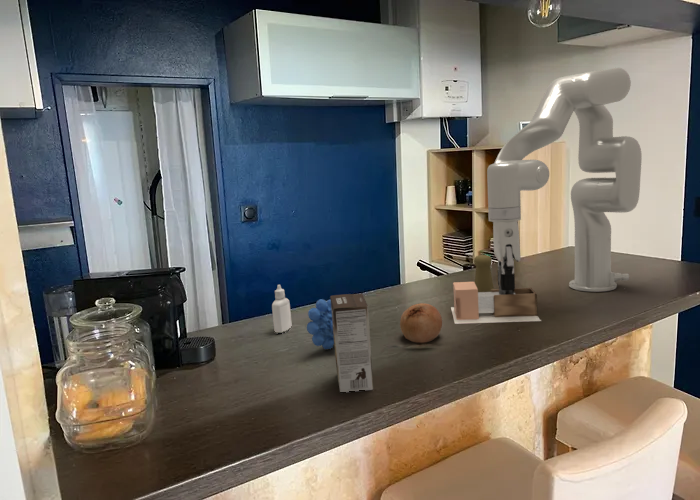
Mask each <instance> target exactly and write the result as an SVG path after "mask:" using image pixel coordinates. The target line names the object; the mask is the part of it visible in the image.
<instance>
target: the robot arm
mask: <svg viewBox="0 0 700 500" xmlns="http://www.w3.org/2000/svg"><path fill="white" fill-rule="evenodd" d="M631 82H632V81H631V77H630V75H629V73H628V72H627V70H626V69H624V68H622V67H613V68H607V69H602V70H592V71H585V72H582V73H576V74H575V73H574V74H571V75H570V74H569V75H565V76H560V77H558V78H555V79H553V80H552V81H551V82H550V83H549V84H548V86H547V88H546V89H545V92H544V94H543V96H542V98H541V100H540V102H539V103H538V105H537V108H536V110H535V112H534V114H533V116H532V118H531V120H530V122H529V123H527V124H526V125H525V126H524V127H522V128H521V129H520V130H519V131H517V132H516V133H515V134H514V135H512V137H511V138H509V140H507V142H506V143H505V144H504V145H502V148H501V149H500V151H499V153H498V154H497V157H495V158H496V159H495V161H494V163H492V164H489V165H488V167H487V169H486V170H487V171H486V174H487V182H486V183H487V204H488V205H487V207H488V210H487V211H488V215H487V216H488V222H492V224H493V226H492V228H493V229H492V233H493V235H492V236H493V238H492V239H493V251H494V253H493V254H494V256H495V258H496V259H497V267H498V266H499V265H501V266H502V274H501V290H514V289H515V288H516V286H515V285H516V284H515V282H516V280H515V278H516V276H515V263H514V260H515V261H516V262H520V261H521V259H522V257H521V245H520V244H521V243H520V241H521V240H520V230H519V229H520V228H519V223H518V221H521V220H522V215H521V213H522V211H521V210H522V209H521V207H522V206H521V191H523V192H525V191H527V192H528V191H538V190H540V189H543V187H544V186H546V184H547V183H548V181H549V179H550V170H549V167H548V165H547V164H546V163H545V162H544V161H541V160H539V159H525V158H526V157H527V156H528V155H529V154H532V153H533V152H535V151H538V150H540V149H542V148H544V147H546V146H549V145H551V144H552V143H554V142H556V141H557V140H559V139H560V138H561V137H562V136H563V134H564V132H565V130H566V128H567V125H568V123H569V121H570V119H571V117H572V115H573V113H574V114H575V115H576V118H577V119H578V120H577V121H578V126H579V127H578V128H579V129H578V130H579V131H578V132H579V133H578V135H579V136H578V153H577V154H578V156H577V157H578V159H577V160H578V166H579V169H581V171H583V172H585V173H589V174H600V173H601V174H605V173H615V177H587V178H583V179H579V180H578V181H576V182H575V183H574V184H573V185H572V187H571V190H570V202H571V205H572V206H571V207H572V211H573V218H574V279H572V280H570V281H569V283H568V286H569V287H570V288H571V289H573V290H576V291H581V292H589V293H590V292H592V293H596V292H597V293H600V292H609V291H613V290H616V289H617V286H618V284H617V282H618V281H629V280H630V275H629V273H621V272H614V271H612V270H611V269H612V267H611V266H612V251H611V250H612V225H611V223H610V219H608V217H607V215H606V214H605V213H616V214H617V213H621V214H624V213H629V212H632V211H633V210H634V209H635V208H636V207H637V205H638V203H639V199H640V193H641V192H640V189H641V174H642V149H641V146H640V144H639V141H638V140H637V139H636V138H635V137H631V136H627V135H625V136H623V135H622V136H614V120H613V116H612V114H611V112H610V110H609V109H608V108H607V107H606V106H605V105H609V104H613V103H617V102H621V101H622V100H624V99H625V98H626V97H627V96H628V94H629V92H630V90H631V86H632V85H631ZM504 264H507V265H505V266H504ZM497 285H498V286H499V274H498V273H497Z"/></svg>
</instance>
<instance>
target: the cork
mask: <svg viewBox="0 0 700 500" xmlns="http://www.w3.org/2000/svg"><path fill="white" fill-rule="evenodd" d="M492 263H493V259H492V257H491V256H489V255H486V254H479V255H476V256H475V257H474V259H473V264H474V266H475V274H474V275H475V276H474V282H475V284H476V287H477V289H478V292H491V289H495V288H494V282H493V275H492V270H491V266H492Z"/></svg>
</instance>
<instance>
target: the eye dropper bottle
mask: <svg viewBox="0 0 700 500" xmlns="http://www.w3.org/2000/svg"><path fill="white" fill-rule="evenodd" d="M274 298H275V300H274V301H273V302H272V304H271V310H272V320H273V322H272V323H273V329H274V331H275V332H283V331H286V330H288V329H289V328H291V326H292V327H293V324H292V313H291V304H290V300H289V299H288V298H287V297H286V294H285V289H284V288H282V286H281V284H277V288H276V290H274ZM291 329H292V328H291ZM275 332H274V333H275Z"/></svg>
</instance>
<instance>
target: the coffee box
mask: <svg viewBox="0 0 700 500" xmlns="http://www.w3.org/2000/svg"><path fill="white" fill-rule="evenodd" d="M329 298H330V299H331V311H332V323H333V335H334V345H333V347H334V356H335V357H334V358H335V366H336V375H337V382H338V386H339V387H338V388H339V393H340V392H346V393H350V392H349V391H355V392H360V391H359V390H365V391H373V390H374V379H373V365H372V364H373V363H372V347H371V336H370V335H371V334H370V333H371V332H370V317H369V306H368V305H369V304H368V303H367V301H366V299H365V297H364V294H363V293H353V294H351V293H348V294H347V293H346V294H345V293H344V294H343V293H342V294H334V295H330V297H329ZM330 299H329V300H330Z"/></svg>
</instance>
